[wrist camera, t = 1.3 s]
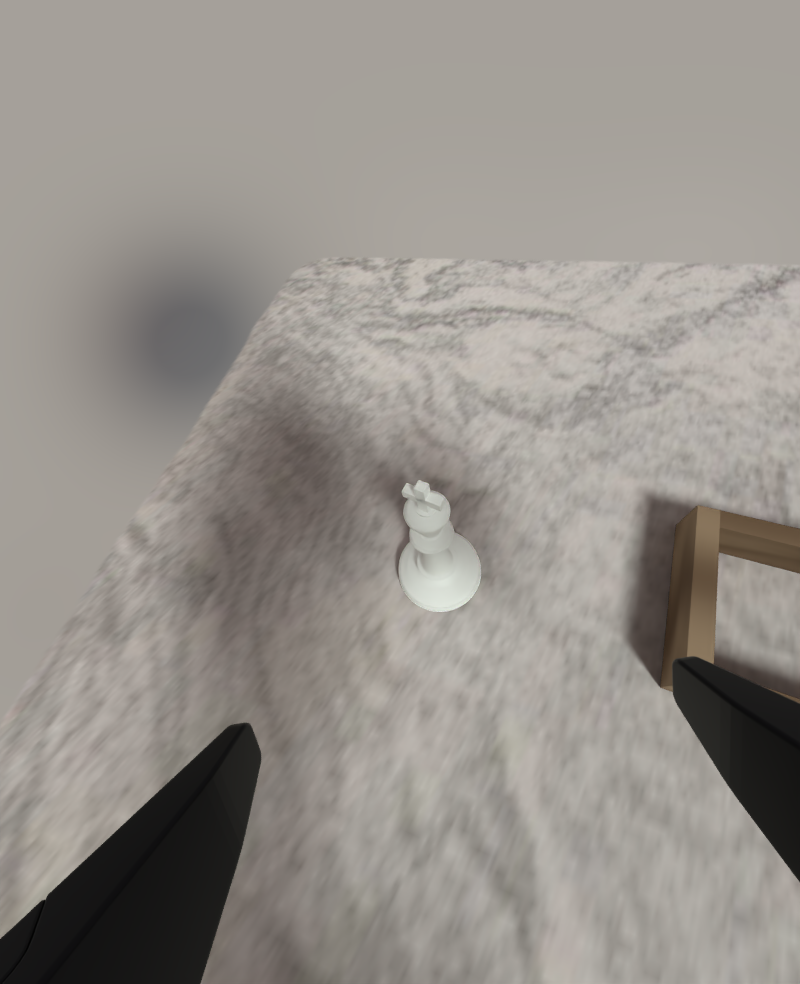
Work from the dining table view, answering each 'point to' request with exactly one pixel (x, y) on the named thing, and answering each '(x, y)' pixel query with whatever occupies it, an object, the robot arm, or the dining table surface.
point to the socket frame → (715, 575)
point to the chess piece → (435, 554)
